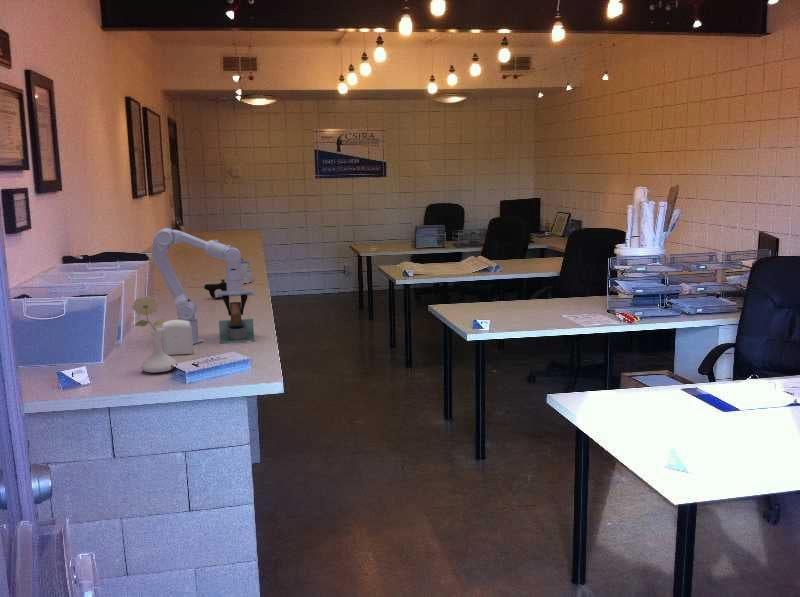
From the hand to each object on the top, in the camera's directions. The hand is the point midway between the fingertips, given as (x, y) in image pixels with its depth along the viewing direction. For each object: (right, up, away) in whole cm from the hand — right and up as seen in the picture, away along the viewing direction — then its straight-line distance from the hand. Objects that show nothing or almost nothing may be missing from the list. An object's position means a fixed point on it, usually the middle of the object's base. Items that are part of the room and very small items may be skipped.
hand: (235, 314), depth 280 cm
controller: (-30, +6, +90) cm, 95 cm away
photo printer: (-16, -14, -18) cm, 28 cm away
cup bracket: (0, -10, +2) cm, 10 cm away
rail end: (0, -3, 0) cm, 3 cm away
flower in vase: (-17, -18, -40) cm, 47 cm away
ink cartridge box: (-28, +15, +141) cm, 144 cm away
